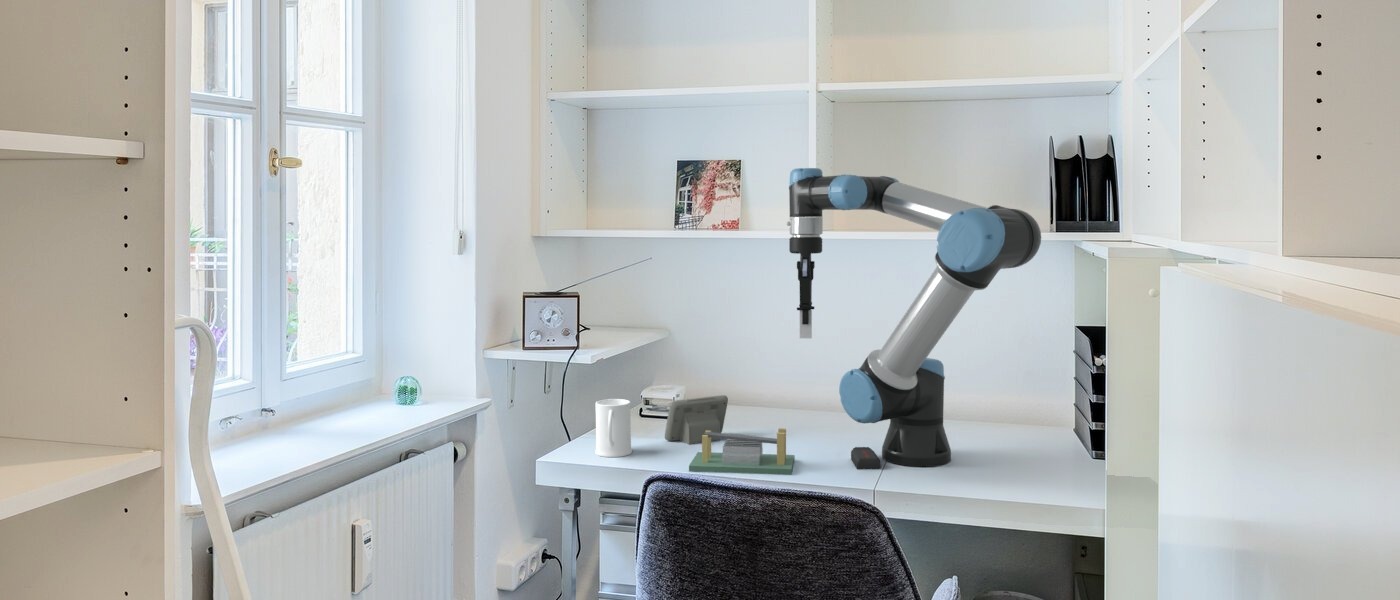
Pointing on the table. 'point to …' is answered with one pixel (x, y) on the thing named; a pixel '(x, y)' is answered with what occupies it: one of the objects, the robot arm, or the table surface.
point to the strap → (741, 437)
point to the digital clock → (695, 418)
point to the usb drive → (865, 458)
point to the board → (768, 465)
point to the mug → (613, 428)
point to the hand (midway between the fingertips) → (805, 337)
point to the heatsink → (742, 452)
